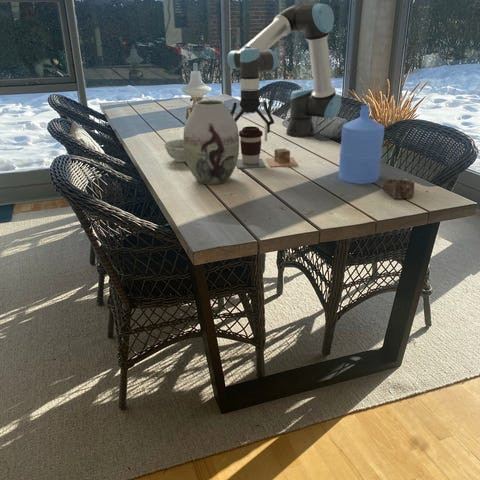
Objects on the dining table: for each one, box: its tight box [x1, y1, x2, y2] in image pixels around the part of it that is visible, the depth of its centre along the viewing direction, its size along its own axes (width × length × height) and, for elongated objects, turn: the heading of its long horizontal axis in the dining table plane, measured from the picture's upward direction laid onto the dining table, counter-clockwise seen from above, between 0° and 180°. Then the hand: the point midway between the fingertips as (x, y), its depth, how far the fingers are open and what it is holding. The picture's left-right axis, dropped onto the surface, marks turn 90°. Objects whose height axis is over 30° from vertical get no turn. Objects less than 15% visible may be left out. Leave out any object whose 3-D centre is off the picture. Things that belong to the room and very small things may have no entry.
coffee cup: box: [238, 125, 264, 165], centre depth 208 cm, size 10×10×15 cm
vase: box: [182, 99, 240, 186], centre depth 186 cm, size 21×21×30 cm
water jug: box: [337, 105, 385, 185], centre depth 186 cm, size 16×16×28 cm
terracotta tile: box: [266, 156, 299, 168], centre depth 212 cm, size 12×12×1 cm
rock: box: [382, 178, 415, 200], centre depth 173 cm, size 13×8×6 cm, turn 3°
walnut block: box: [273, 148, 291, 164], centre depth 211 cm, size 5×5×5 cm
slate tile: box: [236, 158, 267, 170], centre depth 211 cm, size 12×12×1 cm
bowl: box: [163, 138, 187, 163], centre depth 217 cm, size 16×16×8 cm
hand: (249, 141), depth 207 cm, fingers open, 13 cm apart
